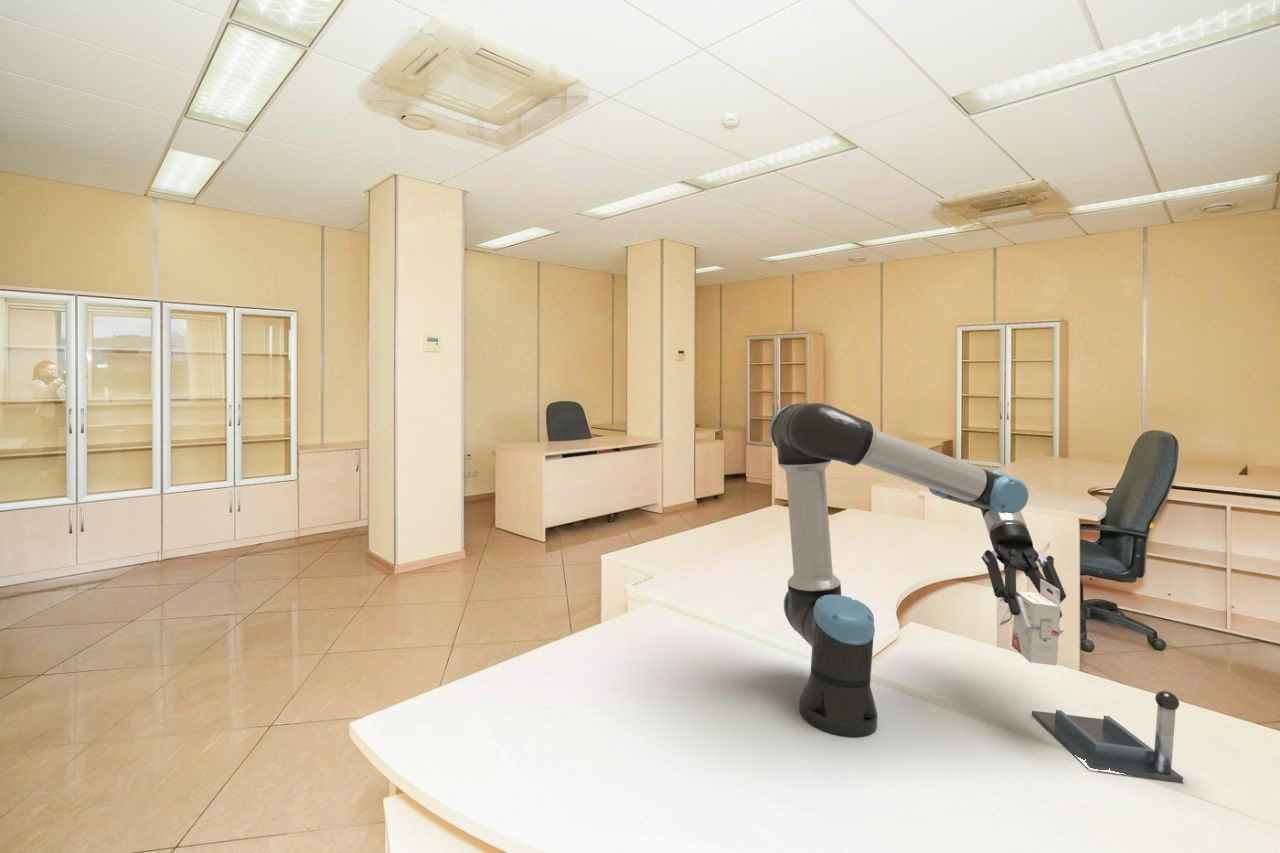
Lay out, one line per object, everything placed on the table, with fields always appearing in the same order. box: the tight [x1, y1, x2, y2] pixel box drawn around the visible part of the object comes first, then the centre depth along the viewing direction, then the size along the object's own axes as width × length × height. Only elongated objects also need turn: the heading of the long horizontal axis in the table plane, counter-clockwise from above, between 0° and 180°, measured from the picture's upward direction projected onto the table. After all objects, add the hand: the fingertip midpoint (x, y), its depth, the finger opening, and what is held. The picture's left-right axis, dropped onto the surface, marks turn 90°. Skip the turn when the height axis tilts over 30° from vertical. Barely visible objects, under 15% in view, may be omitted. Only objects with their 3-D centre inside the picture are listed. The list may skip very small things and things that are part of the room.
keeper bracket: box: [1031, 690, 1184, 784], centre depth 113 cm, size 15×20×15 cm
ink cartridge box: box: [1011, 579, 1062, 666], centre depth 115 cm, size 9×5×15 cm, turn 169°
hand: (1042, 631), depth 112 cm, fingers closed on ink cartridge box, 5 cm apart
